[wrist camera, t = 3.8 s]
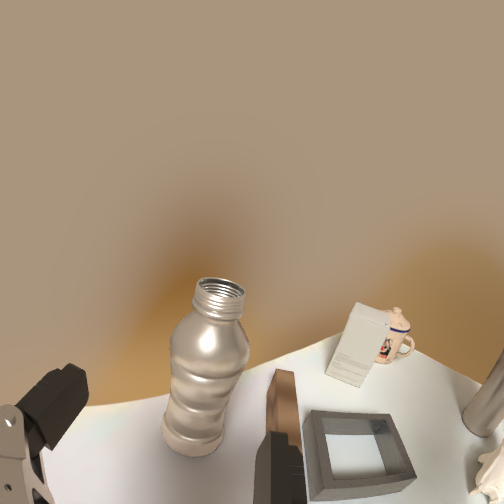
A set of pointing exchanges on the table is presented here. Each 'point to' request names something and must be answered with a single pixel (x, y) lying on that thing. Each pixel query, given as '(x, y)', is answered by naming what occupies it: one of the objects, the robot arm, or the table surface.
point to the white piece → (491, 475)
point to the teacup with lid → (395, 337)
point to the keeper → (354, 424)
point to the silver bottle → (205, 367)
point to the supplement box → (359, 344)
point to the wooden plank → (283, 407)
